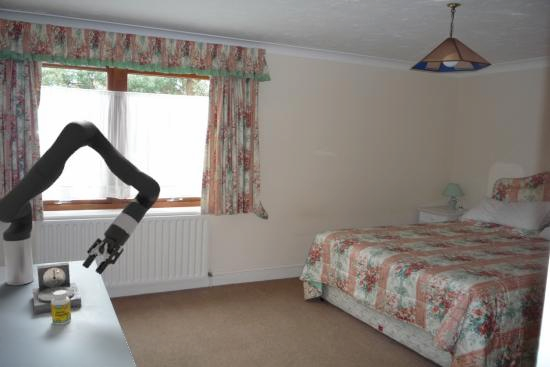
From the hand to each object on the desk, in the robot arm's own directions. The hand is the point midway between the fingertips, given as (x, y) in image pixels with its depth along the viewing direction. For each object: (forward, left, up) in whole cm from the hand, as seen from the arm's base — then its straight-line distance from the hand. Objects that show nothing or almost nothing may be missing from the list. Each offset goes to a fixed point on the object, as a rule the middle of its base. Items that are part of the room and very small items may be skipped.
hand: (91, 269), depth 154 cm
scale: (-17, -4, -14) cm, 23 cm away
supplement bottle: (0, -10, -14) cm, 18 cm away
